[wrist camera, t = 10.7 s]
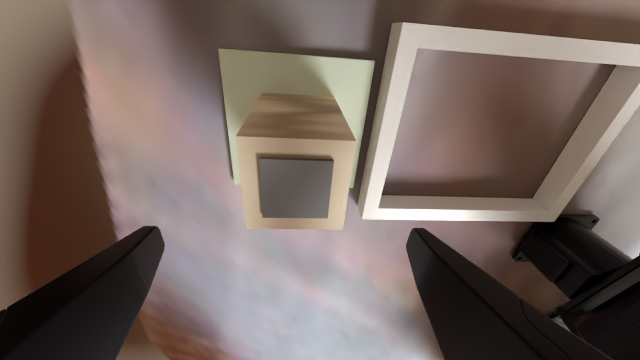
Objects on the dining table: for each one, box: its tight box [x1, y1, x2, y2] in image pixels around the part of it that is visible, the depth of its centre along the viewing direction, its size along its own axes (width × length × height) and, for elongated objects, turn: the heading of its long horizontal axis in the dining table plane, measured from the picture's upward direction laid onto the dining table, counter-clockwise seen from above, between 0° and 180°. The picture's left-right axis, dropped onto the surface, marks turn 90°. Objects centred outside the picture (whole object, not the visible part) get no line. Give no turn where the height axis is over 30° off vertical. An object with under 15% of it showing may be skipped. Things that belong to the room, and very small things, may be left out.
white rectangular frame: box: [357, 22, 640, 222], centre depth 20 cm, size 18×14×2 cm
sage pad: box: [218, 48, 375, 188], centre depth 19 cm, size 10×10×1 cm
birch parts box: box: [236, 93, 356, 229], centre depth 15 cm, size 5×5×8 cm
